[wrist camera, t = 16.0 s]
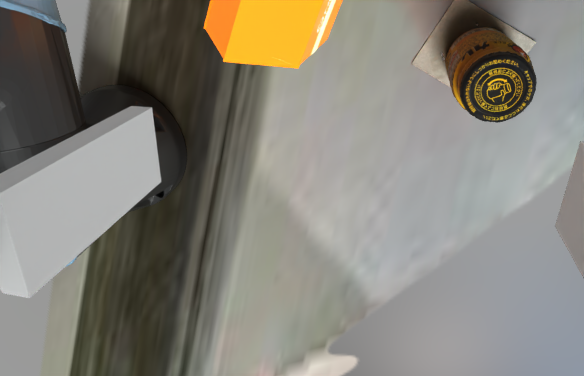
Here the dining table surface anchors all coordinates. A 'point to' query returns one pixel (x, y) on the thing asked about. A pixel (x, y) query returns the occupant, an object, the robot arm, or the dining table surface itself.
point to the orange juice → (270, 29)
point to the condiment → (480, 62)
